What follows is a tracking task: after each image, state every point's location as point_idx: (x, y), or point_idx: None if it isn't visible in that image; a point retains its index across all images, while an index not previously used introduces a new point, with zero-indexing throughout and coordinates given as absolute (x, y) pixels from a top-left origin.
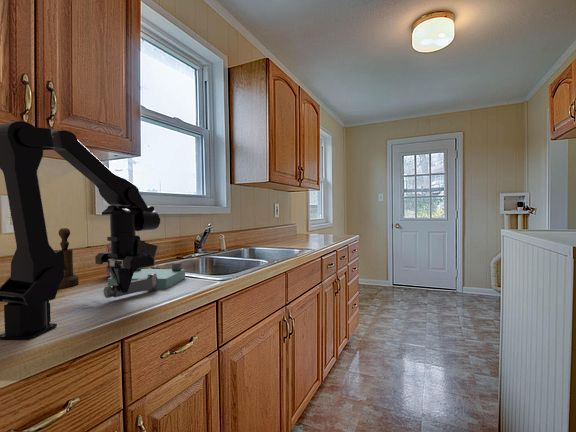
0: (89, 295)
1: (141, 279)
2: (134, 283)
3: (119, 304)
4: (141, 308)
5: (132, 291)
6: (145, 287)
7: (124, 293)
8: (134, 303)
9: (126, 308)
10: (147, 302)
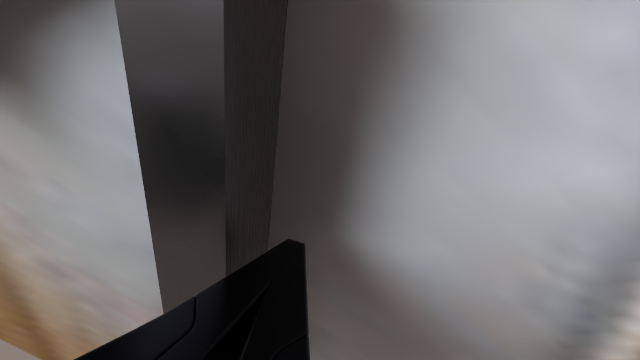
0: (39, 195)
1: (177, 33)
2: (234, 165)
3: (354, 283)
4: (575, 321)
5: (269, 159)
6: (275, 12)
7: (265, 219)
8: (436, 253)
9: (464, 329)
10: (526, 217)
